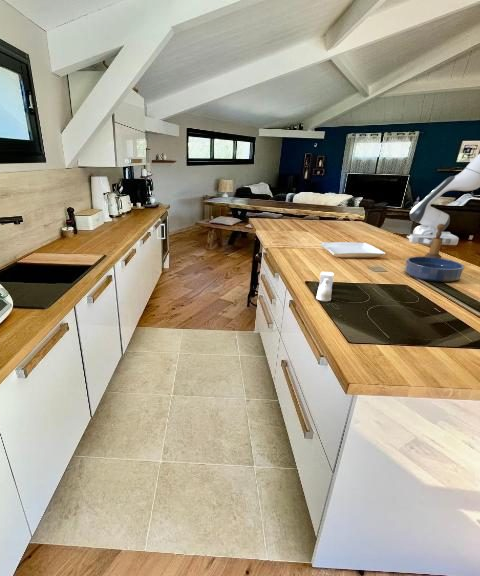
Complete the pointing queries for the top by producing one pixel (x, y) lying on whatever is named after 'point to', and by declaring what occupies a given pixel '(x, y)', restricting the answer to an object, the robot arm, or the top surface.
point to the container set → (325, 286)
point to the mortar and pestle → (436, 243)
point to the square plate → (352, 249)
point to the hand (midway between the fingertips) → (437, 242)
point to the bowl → (434, 269)
